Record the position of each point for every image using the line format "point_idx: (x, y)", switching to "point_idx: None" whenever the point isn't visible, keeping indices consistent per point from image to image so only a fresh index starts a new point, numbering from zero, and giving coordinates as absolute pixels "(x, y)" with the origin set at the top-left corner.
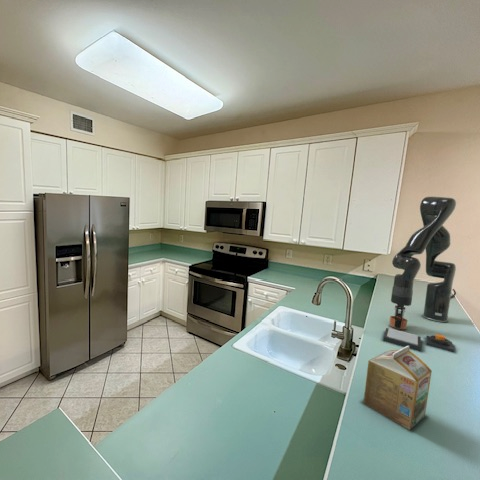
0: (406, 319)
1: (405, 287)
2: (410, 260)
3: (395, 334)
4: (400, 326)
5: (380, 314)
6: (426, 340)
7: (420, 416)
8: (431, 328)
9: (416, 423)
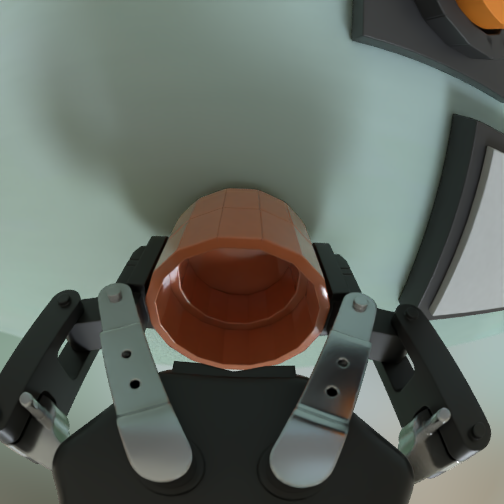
0: (192, 245)
1: None
2: None
3: None
4: (332, 253)
5: (33, 317)
6: (451, 72)
7: None
8: (10, 42)
9: None
